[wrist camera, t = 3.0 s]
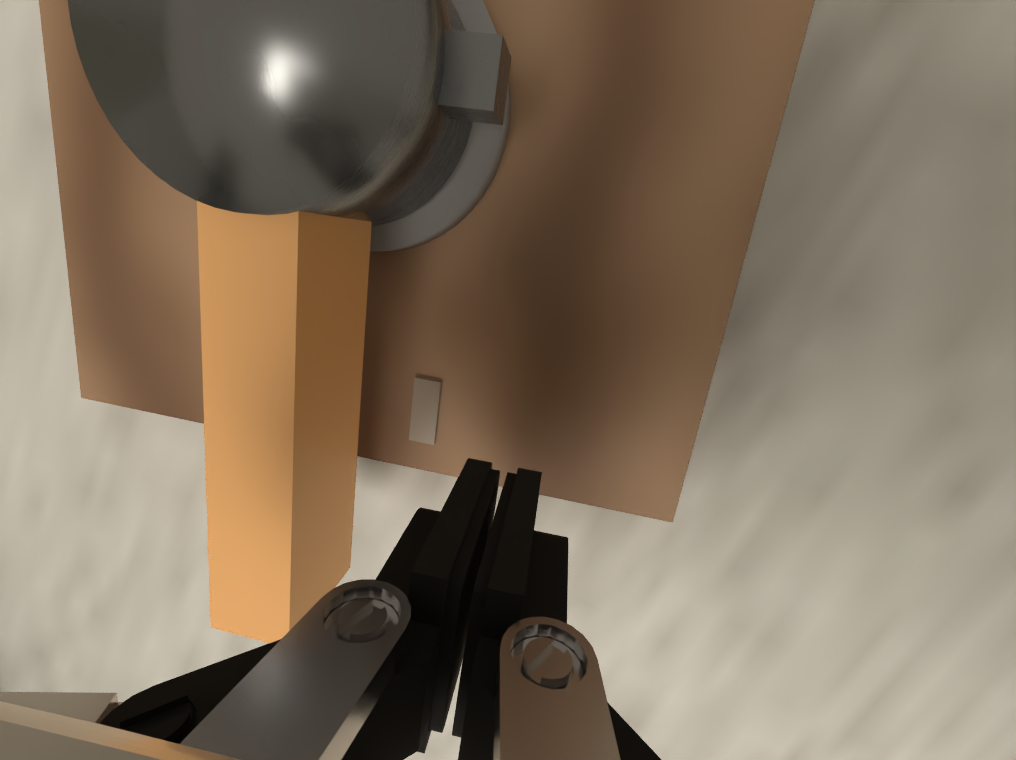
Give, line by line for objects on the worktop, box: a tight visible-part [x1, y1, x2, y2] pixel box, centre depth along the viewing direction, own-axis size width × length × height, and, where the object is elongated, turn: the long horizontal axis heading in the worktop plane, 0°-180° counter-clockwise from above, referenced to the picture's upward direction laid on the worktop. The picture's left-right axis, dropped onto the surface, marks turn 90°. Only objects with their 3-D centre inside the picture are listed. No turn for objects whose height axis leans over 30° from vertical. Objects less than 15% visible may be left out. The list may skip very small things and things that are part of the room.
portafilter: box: [68, 0, 512, 643], centre depth 11 cm, size 8×16×4 cm, turn 172°
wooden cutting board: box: [39, 0, 815, 522], centre depth 13 cm, size 20×20×3 cm
